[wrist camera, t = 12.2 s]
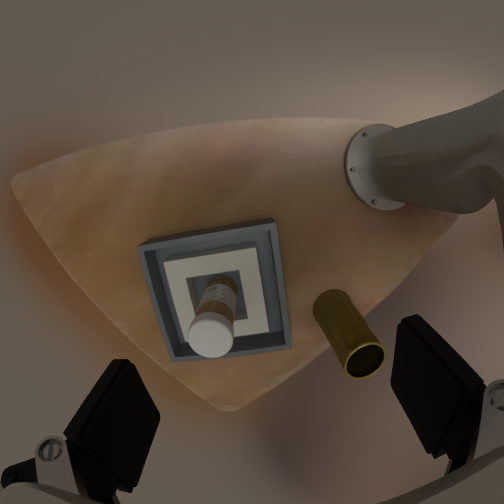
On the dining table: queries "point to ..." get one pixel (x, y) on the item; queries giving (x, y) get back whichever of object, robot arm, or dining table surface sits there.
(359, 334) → the vase
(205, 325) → the sprinkles bottle
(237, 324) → the block
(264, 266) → the open box
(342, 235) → the dining table surface
